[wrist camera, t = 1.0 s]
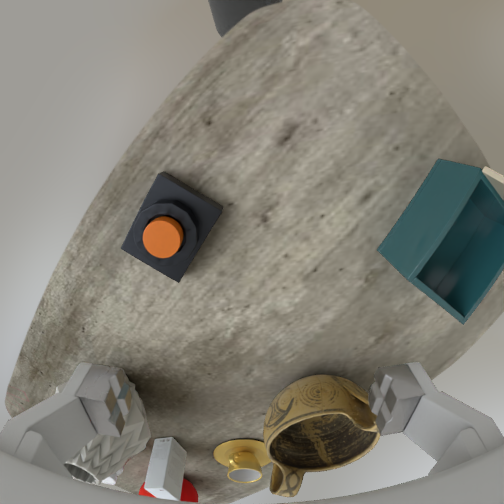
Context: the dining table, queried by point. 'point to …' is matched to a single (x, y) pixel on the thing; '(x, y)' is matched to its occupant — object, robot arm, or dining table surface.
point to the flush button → (163, 237)
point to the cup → (242, 459)
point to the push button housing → (180, 209)
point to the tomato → (186, 493)
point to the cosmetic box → (166, 469)
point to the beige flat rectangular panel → (495, 180)
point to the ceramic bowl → (316, 429)
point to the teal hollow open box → (450, 238)
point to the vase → (111, 445)
